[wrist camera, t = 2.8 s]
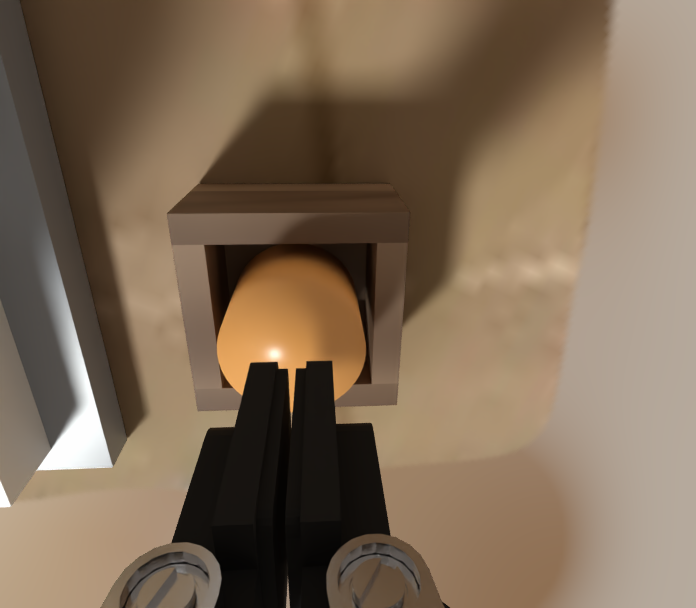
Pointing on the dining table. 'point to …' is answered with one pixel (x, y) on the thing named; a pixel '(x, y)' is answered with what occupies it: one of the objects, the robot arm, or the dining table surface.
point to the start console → (291, 228)
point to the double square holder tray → (44, 296)
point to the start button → (293, 317)
